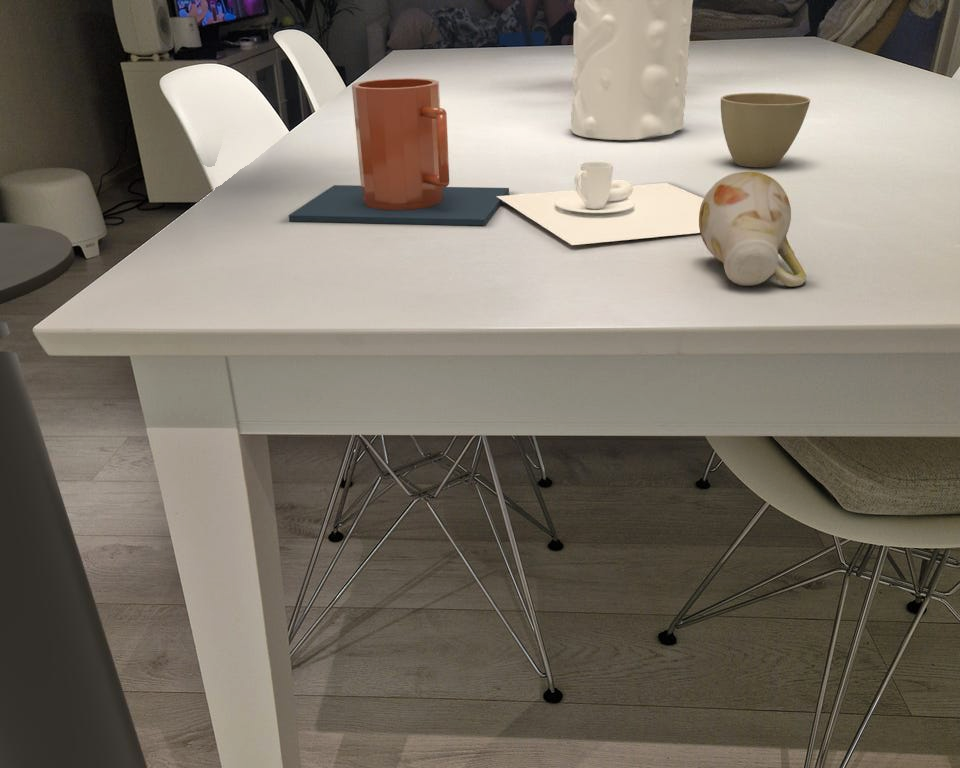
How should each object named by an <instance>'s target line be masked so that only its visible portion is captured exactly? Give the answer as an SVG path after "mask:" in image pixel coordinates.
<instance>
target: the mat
mask: <svg viewBox="0 0 960 768" xmlns="http://www.w3.org/2000/svg"><path fill="white" fill-rule="evenodd" d="M507 195H510V188H509V187H473V186H472V187H471V186H466V187H465V186H447V187H444V200H443V201H442V202H441V203H439V204H437V205H434V206H431V207H426V208H420V209H412V210H382V209H375V208H371V207H368V206H366V205H364V203H363V197H362V191H361V185H355V184H354V185H349V184H348V185H346V184H345V185H344V184H343V185H342V184H334V185H332V186H330V187H329V188H328V189H326V190H325V191H323V192H321V193H320V194H318V195H317V196H315V197H314V198H312V199H311V200H308V202H306V203H305V204H303V205H301V206H300V207H298V208H297V209H296V210H294V211H292V212H290V213H289V214H288V221H289V222H304V223H307V222H308V223H309V222H310V223H348V224H350V223H352V224H355V223H356V224H392V225H394V224H395V225H435V226H436V225H437V226H439V225H440V226H442V225H443V226H476V227H477V226H479V227H480V226H481V227H483V226H484V227H485V226H486V225H487V223H488V222H489V220H490V219H491V218H492V216H493V215H494V214H495V213H496V211H497V210H498V209H499V207H500V206H501V204H502V203H503V202H504V201H503V200H501V199H499V198H498V197H496V196H507Z"/></svg>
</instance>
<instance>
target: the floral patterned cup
mask: <svg viewBox="0 0 960 768" xmlns="http://www.w3.org/2000/svg"><path fill="white" fill-rule="evenodd" d="M703 198H704V199H703V201H702V204H701V207H700V212H699V229H700V233H699V234H700V236H701V239H702V242H703V243H704V246H705V247H706V248H707V250H708V251H709V253H710V254H711V255H712V256H713V257H714V258H715V259H717V260H718V261H719V262H721V263H722V264H723V270H724V272H725V275H726V276H727V279H729V280H730V281H731V282H732V283H734V284H736V285H738V286H742V287H752V286H753V287H754V286H757V285H761V284H762V283H764V282H765V281H767V280H768V279H769V278H770V277H772V276H773V277H774V278H775V279H776V281H778V282H780V283H782V284H783V285H784V286H787V287H798V286H802V285H803V284H804V283H806V279H807V274H806V272H805V270H804V268H803V267H802V264H801V263H800V261H799V260H798V258H797V257H796V254H795V252H794V250H793V249H792V247H791V245H790V242H789V241H788V238H787V235H788V232H789V228H790V226H791V220H792V207H791V203H790V200H789V197H788V195H787V192H786V191H785V189H784V188H783V186H781V184H780V183H779V182H778V181H777V180H775V179H774V178H773V177H771V176H770V175H767V174H765V173H762V172H759V171H739V172H734V173H731V174H727V175H726V176H724V177H722V178H721V179H719V180H718V181H716V182H715V183H714V184H713V186H712V187H711V188H710V189H709V190H708V191H707V193H706V194H705V196H704V197H703ZM779 256H780V258H781V259H782V260H783V261H784V263H785V264H786V265H787V266H788V267H789V269H790V271H791V272H792V273H790V272H788V271H786V270H785V269H784V268H783V267H782V266H781V264H779Z"/></svg>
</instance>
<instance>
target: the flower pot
mask: <svg viewBox="0 0 960 768" xmlns="http://www.w3.org/2000/svg"><path fill="white" fill-rule="evenodd" d="M810 103H811V98H810V97H807V96H803V95H798V94H791V93H781V92H780V93H777V92H742V93H741V92H739V93H731V94H730V93H729V94H725V95H722V96H720V118H721V124H722V130H723V135H724V139H725V142H726V146H727V148H728V151H729V154H730V156H731V159H732V161H733V163H734V164H735V165H737V166H740V167H746V168H772V167H776V166H777V165H778V164H779V163H780V162H781V161H782V160H783V158H784V157H785V155H786V154H787V152H788V151H789V150H790V148H791V146H792V145H793V143H794V141H795V140H796V138H797V136H798V134H799V132H800V131H801V128H802V126H803V124H804V121H805V118H806V115H807V113H808V110H809V107H810Z"/></svg>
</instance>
